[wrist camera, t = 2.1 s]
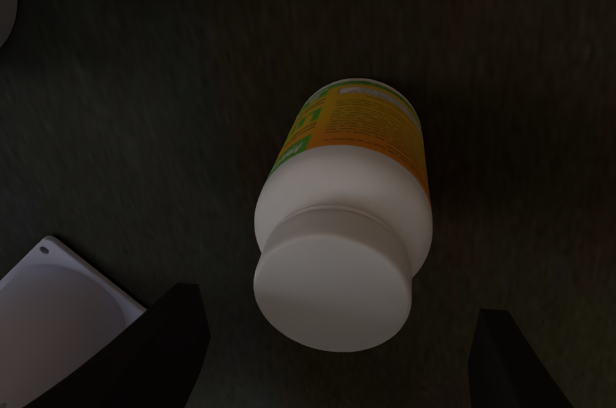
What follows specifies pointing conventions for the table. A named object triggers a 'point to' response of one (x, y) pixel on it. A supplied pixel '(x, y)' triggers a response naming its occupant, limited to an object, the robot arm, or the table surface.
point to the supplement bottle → (344, 219)
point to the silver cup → (7, 18)
